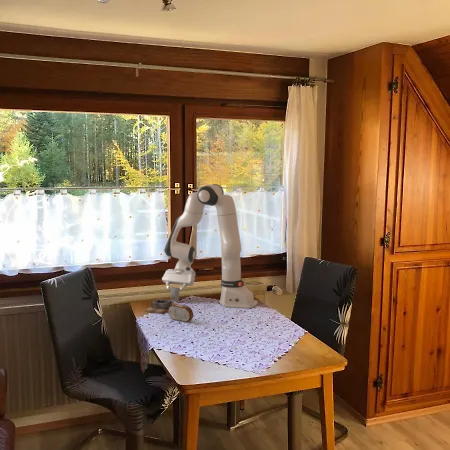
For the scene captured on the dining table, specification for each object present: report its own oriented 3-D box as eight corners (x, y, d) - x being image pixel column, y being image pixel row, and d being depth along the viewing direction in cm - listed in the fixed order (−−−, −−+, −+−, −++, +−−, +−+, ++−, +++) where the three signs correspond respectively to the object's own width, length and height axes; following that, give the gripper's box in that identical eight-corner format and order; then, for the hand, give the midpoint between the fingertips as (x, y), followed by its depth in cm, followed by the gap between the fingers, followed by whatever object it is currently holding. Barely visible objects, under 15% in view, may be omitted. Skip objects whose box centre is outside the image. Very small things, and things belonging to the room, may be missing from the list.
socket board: (177, 305, 284) (177, 298, 283) (162, 314, 268) (162, 306, 268) (161, 303, 288) (161, 296, 288) (145, 311, 273) (145, 304, 272)
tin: (193, 322, 255) (193, 306, 254) (190, 323, 252) (189, 308, 251) (171, 317, 263) (170, 302, 262) (167, 319, 260) (167, 303, 259)
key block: (179, 301, 292) (178, 287, 291) (176, 302, 290) (176, 288, 289) (173, 300, 294) (172, 286, 293) (170, 302, 291) (170, 288, 290)
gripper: (165, 266, 300) (157, 285, 292) (194, 268, 292) (187, 288, 284) (169, 271, 304) (161, 290, 297) (198, 274, 296) (190, 294, 289)
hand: (174, 289), depth 290 cm, fingers open, 8 cm apart
